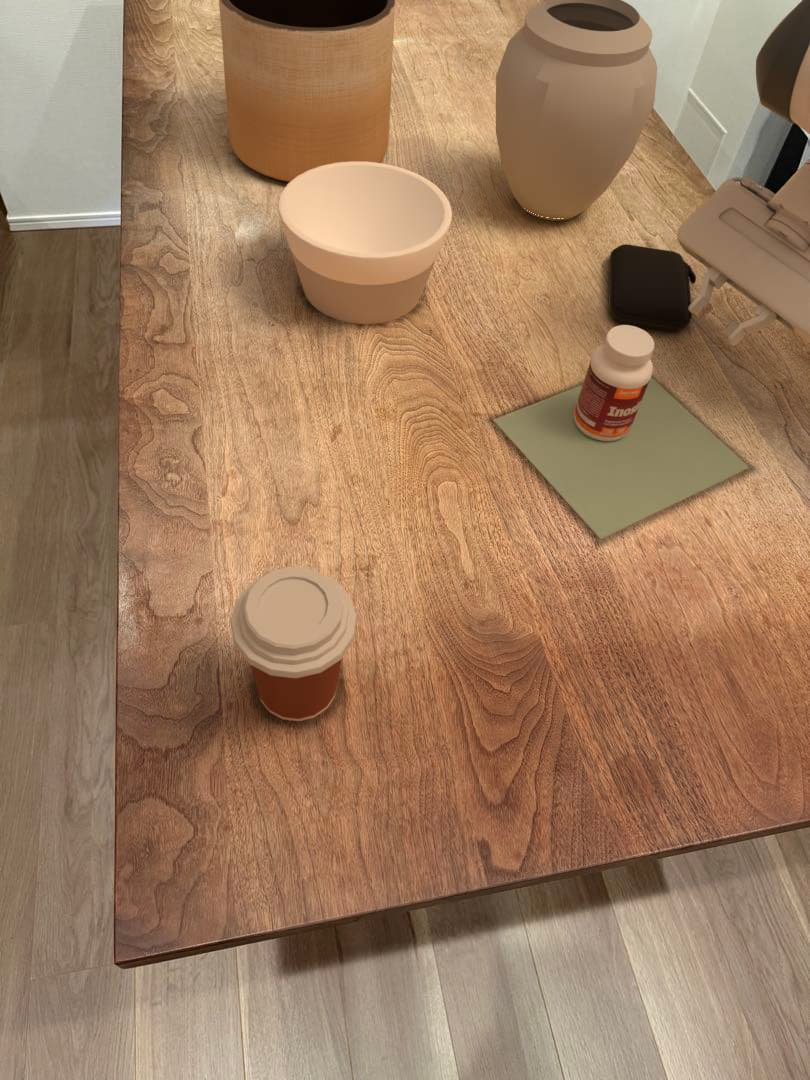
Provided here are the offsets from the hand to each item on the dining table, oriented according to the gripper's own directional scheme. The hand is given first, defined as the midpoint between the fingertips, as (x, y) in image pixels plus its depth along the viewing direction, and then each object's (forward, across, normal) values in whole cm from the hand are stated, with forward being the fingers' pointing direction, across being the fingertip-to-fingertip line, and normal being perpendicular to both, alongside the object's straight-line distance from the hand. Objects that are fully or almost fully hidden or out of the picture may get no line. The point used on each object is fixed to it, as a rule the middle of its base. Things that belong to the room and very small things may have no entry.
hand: (710, 327), depth 91 cm
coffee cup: (+45, +10, -33) cm, 56 cm away
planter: (+15, -63, -2) cm, 65 cm away
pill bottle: (+14, 0, -3) cm, 15 cm away
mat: (+15, +3, -3) cm, 15 cm away
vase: (-1, -36, +13) cm, 39 cm away
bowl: (+22, -32, -10) cm, 40 cm away
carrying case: (0, -14, +12) cm, 19 cm away
